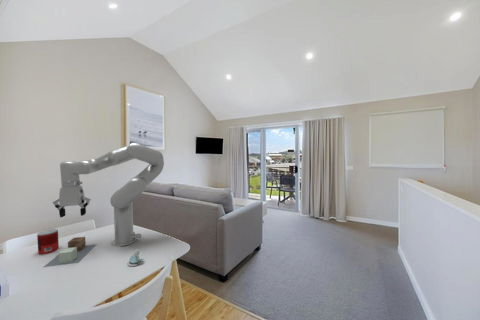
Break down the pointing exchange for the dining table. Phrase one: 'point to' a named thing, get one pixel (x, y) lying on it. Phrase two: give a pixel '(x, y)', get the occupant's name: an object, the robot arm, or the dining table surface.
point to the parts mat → (80, 256)
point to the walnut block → (77, 243)
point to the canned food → (47, 241)
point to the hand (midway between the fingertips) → (73, 215)
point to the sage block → (67, 255)
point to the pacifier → (135, 259)
